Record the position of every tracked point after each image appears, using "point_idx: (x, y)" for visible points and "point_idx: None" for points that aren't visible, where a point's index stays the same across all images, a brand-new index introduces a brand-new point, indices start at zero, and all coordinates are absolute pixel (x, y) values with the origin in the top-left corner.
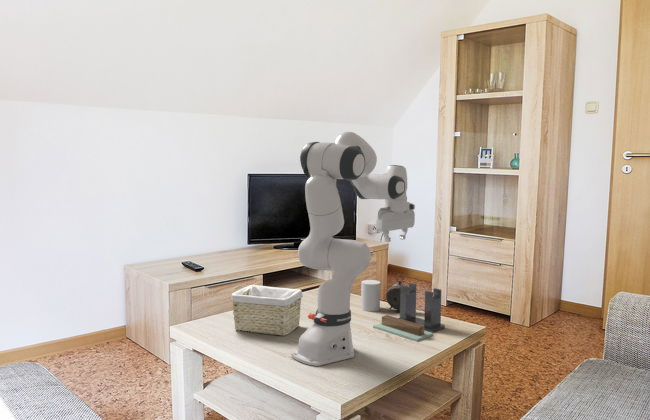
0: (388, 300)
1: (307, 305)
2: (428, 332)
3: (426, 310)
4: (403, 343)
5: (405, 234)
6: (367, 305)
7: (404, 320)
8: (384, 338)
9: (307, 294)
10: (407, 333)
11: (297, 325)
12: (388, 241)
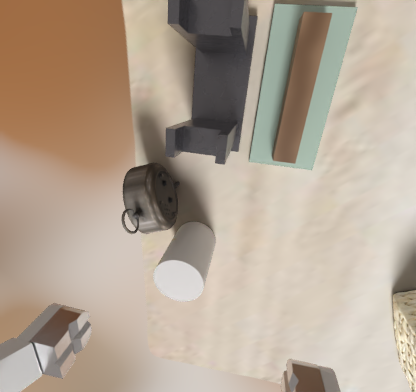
0: (177, 213)
1: (258, 334)
2: (278, 18)
3: (245, 36)
4: (390, 32)
5: (12, 344)
6: (212, 243)
7: (290, 94)
8: (375, 100)
9: (202, 359)
10: (321, 63)
11: (405, 293)
12: (328, 372)
